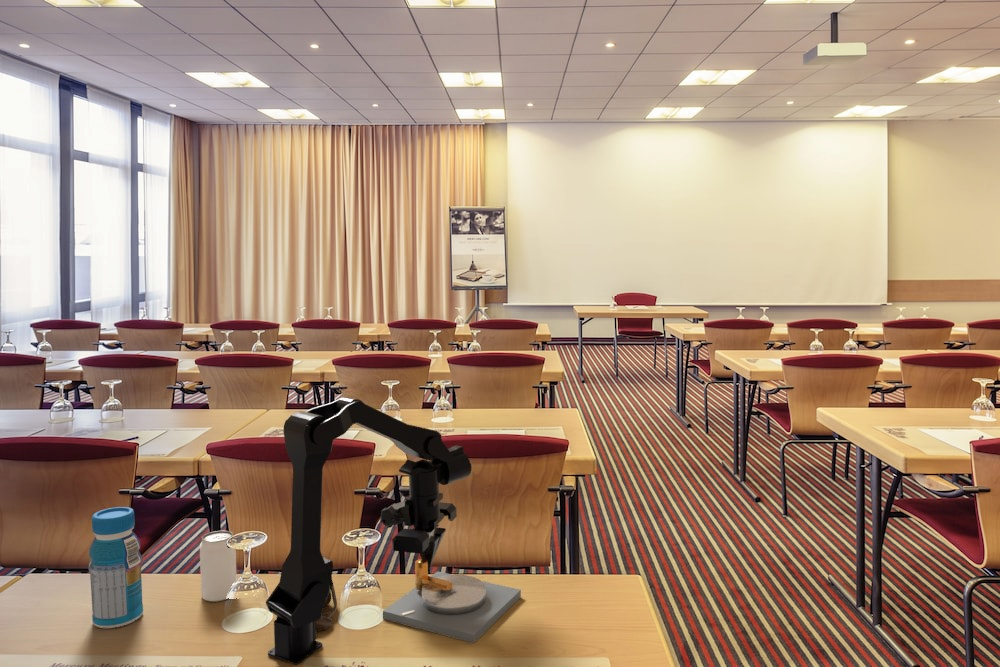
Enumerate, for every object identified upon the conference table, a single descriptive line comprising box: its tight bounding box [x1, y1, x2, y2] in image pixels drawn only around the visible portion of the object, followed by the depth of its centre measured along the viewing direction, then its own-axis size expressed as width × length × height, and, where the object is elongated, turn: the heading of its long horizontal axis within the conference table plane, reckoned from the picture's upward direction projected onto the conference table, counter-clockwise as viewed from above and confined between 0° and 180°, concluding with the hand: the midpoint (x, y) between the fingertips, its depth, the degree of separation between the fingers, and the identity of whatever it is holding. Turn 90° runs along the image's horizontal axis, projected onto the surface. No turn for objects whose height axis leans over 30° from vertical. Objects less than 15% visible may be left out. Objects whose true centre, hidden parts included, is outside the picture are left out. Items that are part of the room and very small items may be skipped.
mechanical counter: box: [316, 585, 338, 632], centre depth 128 cm, size 7×13×10 cm
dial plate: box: [382, 571, 522, 644], centre depth 131 cm, size 19×19×2 cm
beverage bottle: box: [88, 506, 144, 629], centre depth 127 cm, size 8×8×20 cm
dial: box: [414, 558, 486, 614], centre depth 132 cm, size 15×12×6 cm
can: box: [199, 530, 238, 603], centre depth 136 cm, size 6×6×12 cm
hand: (427, 567), depth 137 cm, fingers closed
